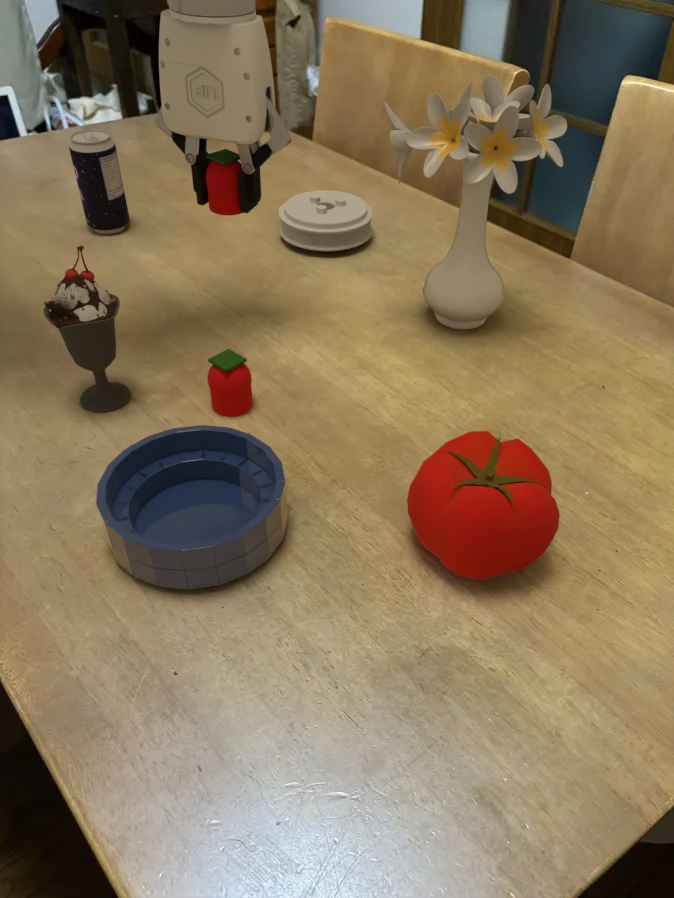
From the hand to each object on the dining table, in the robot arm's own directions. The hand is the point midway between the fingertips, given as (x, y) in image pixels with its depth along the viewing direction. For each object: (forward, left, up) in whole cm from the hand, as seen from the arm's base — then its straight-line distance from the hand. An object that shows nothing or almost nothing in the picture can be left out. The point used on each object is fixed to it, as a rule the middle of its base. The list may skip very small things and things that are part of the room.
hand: (228, 202), depth 78 cm
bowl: (+23, -25, -13) cm, 36 cm away
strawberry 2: (+12, -12, -13) cm, 21 cm away
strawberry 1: (0, 0, -1) cm, 1 cm away
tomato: (+41, -11, -14) cm, 45 cm away
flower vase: (+18, +17, -14) cm, 29 cm away
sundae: (+2, -20, -14) cm, 24 cm away
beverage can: (-31, +3, -14) cm, 34 cm away
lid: (-8, +22, -14) cm, 27 cm away
